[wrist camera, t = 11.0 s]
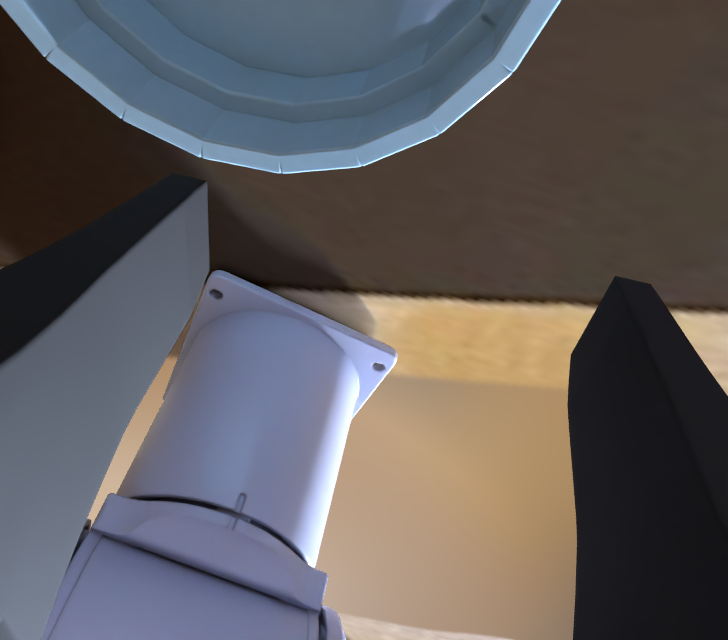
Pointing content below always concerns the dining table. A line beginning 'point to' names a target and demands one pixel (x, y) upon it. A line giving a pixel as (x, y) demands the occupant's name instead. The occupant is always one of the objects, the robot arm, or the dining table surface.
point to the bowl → (286, 70)
